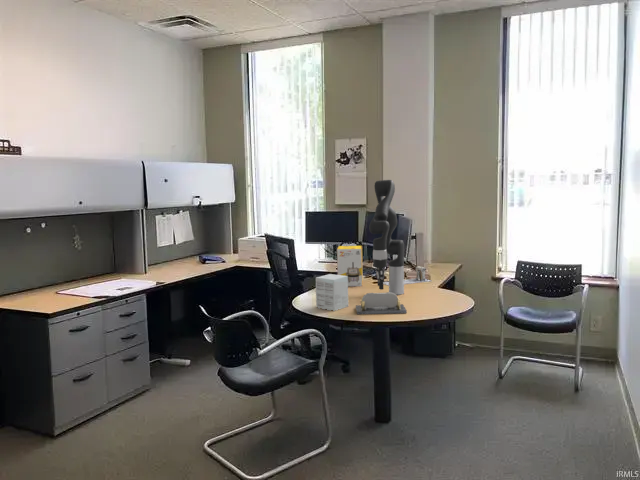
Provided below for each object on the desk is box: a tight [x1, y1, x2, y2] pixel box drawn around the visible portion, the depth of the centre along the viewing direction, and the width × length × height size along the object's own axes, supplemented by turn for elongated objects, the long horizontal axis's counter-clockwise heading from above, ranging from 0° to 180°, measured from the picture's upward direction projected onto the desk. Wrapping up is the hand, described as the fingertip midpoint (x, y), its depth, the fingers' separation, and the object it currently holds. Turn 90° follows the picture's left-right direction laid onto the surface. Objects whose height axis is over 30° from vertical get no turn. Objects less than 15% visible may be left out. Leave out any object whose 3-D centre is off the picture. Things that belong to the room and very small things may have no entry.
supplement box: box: [315, 273, 349, 312], centre depth 298 cm, size 13×13×18 cm
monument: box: [383, 266, 432, 287], centre depth 363 cm, size 12×33×10 cm, turn 113°
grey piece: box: [361, 291, 399, 308], centre depth 288 cm, size 20×2×8 cm, turn 89°
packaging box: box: [336, 245, 364, 287], centre depth 362 cm, size 16×16×25 cm
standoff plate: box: [355, 297, 407, 315], centre depth 288 cm, size 14×26×6 cm, turn 89°
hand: (380, 287), depth 287 cm, fingers open, 8 cm apart
